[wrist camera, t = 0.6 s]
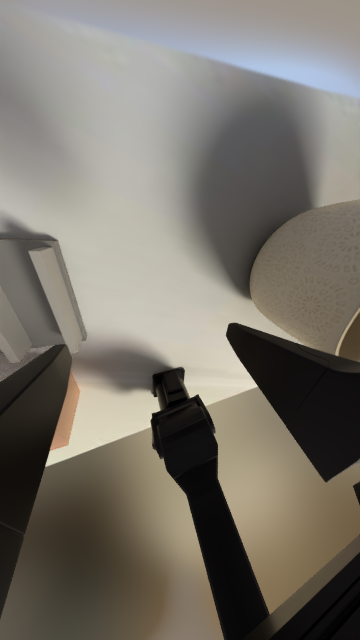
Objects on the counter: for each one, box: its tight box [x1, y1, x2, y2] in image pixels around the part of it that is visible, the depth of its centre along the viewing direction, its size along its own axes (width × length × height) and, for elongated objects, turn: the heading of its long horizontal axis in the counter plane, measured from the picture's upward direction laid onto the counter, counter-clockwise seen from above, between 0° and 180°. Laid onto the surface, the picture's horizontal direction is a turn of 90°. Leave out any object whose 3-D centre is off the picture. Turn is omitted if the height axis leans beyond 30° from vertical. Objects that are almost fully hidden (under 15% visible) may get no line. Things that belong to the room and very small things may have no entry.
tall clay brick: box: [50, 370, 80, 451], centre depth 21 cm, size 8×3×8 cm, turn 177°
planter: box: [250, 200, 360, 362], centre depth 21 cm, size 17×17×15 cm
